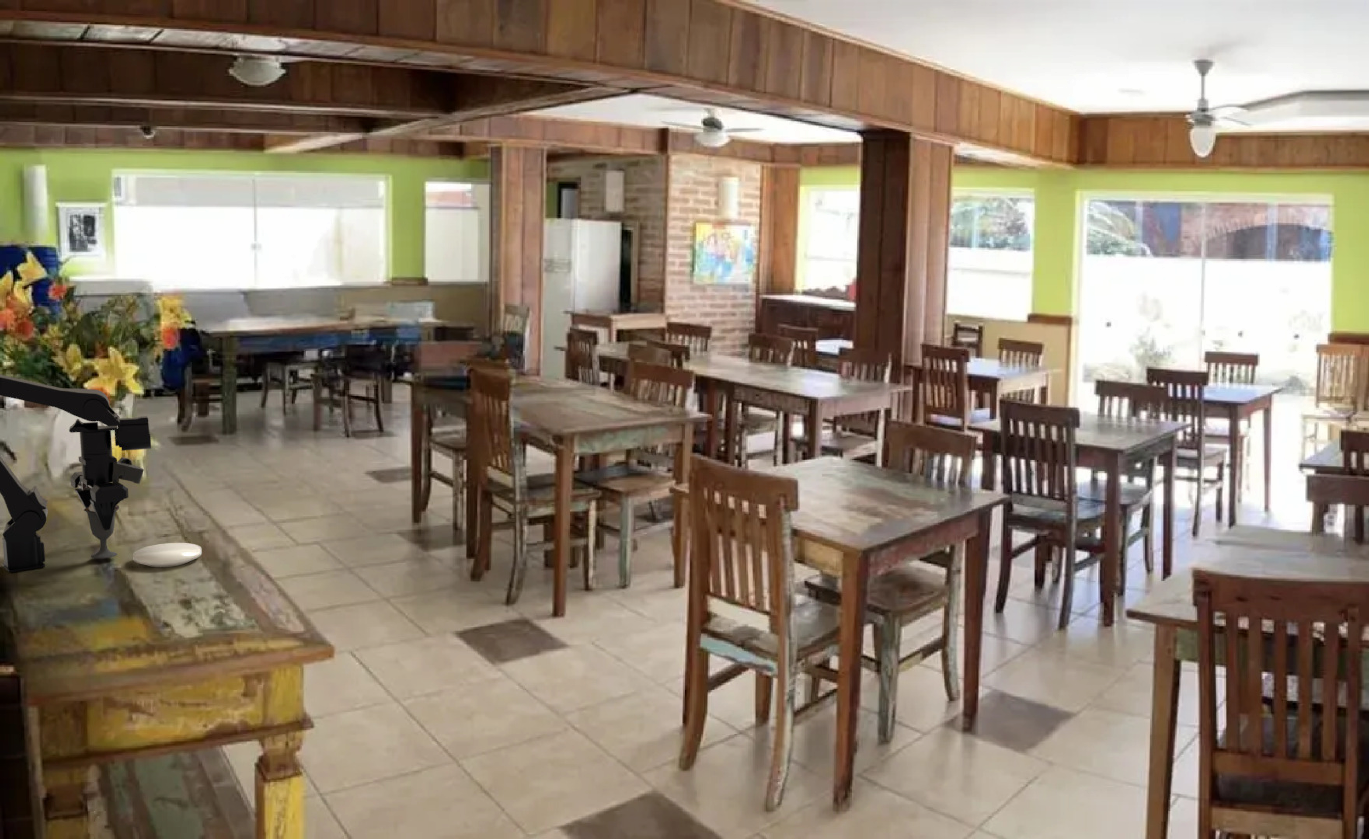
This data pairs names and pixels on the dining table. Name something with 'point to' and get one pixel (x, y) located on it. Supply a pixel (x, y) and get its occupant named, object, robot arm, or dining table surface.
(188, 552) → the stand
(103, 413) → the robot arm
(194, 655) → the dining table surface
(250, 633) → the dining table surface
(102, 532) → the sundae
